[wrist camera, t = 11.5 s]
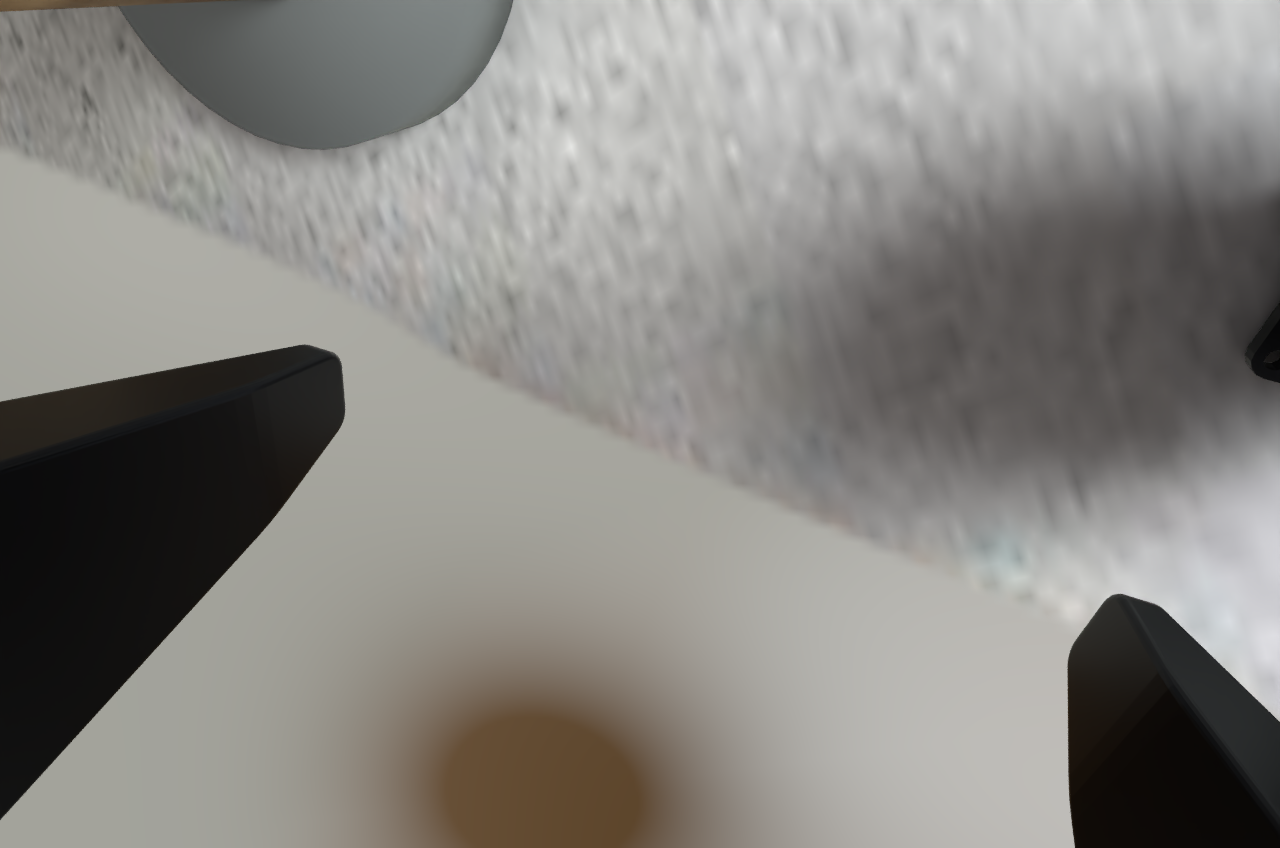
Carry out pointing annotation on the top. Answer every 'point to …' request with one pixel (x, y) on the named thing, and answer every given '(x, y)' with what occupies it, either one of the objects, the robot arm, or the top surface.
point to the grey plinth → (323, 61)
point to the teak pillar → (81, 3)
